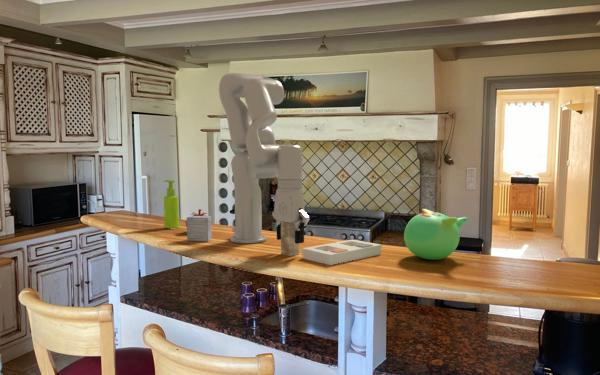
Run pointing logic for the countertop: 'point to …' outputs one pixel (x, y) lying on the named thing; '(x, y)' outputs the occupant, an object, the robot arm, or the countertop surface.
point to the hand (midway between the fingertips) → (290, 240)
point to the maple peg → (288, 239)
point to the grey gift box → (199, 228)
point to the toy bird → (433, 234)
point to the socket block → (341, 251)
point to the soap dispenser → (171, 207)
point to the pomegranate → (197, 215)
